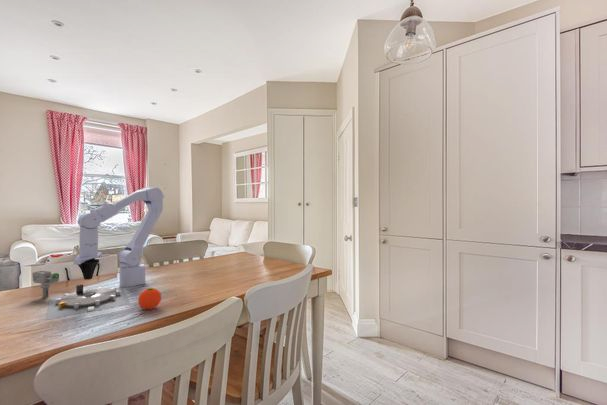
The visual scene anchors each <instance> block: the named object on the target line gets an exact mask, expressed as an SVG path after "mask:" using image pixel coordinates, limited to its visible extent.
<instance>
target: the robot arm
mask: <svg viewBox="0 0 607 405" xmlns="http://www.w3.org/2000/svg"><path fill="white" fill-rule="evenodd" d="M164 198H165V195H164V193H163V191H162V190H161V189H160V188H159V187H157V186H153V187H142V188H140V189H138V190H136V191H133V192H132V193H130V194H128V195H126V196H124V197H123V198H121V199H119V200H117V201H116V202H103V203H102V204H101V205H100V206H99V207H97V208H95V209H92V208H91V209H89V212H86V213H83V214H81V215H80V216H79V217H78V220H77V224H78V226H79V240H78V241H79V249H78V252H79V253H78V254H79V255H76V256H75V258H74V259H73V265H77V266H78V267H79V269H80V271H81V273H82V276H83V279H84V280H92V279H93V277H94V273H95V271H96V268H97V266H98V264H99V262H100V259H99V258H102V255H103V252H101V251H99V250H98V249H99V226H100V225H101V223H104V222H106V221H107V220H109V219H112V218H113V217H115V216H116V215H118V214H119V211H120V210H122V209H123V208H126V207H128V206H129V205H131V204H135V203H136V202H138V201H140V202H141V201H142V202H144V204H145V205H146V208H147V211H146V214H145V215H144V217H143V219H142V221H141V223H140V224H139V226H138V228H137V230H136V231H135V233H134V235H133V237H132V238H131V239H130V240H131V241H130V242H128V243H127V244H125V247H124V248H123V249H121V250H119V252H118V254H117V260H118V261H119V262H120V264H119V287H122V288H124V287H125V288H126V287H128V288H129V287H133V286H134V287H135V286H139V285H144V284H146V265H145V264H144V263H143V264H140V263H141V262H142V259H143V253H144V252H145V251H144V246H145V244H146V242H147V240H148V238H149V236H150V234H151V232H152V231H153V229H154V227H155V225H156V224H157V221H158V219H159V217H160V216H161V215H162V212H163V208H164V206H163V205H164V204H163V203H164V202H163V201H164Z"/></svg>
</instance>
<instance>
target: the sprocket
mask: <svg viewBox="0 0 607 405" xmlns="http://www.w3.org/2000/svg"><path fill="white" fill-rule="evenodd" d="M75 287H76V291H74V292H70V293H64V294H63V295H62V296H63V297H62V298H59V299H56V300H55V304H58V308H63V307H74V309H78V308H80V307H84V306H91V305H95V306H97V305H100V303H103V302H106V301H109V300H115V299H116V296H117V295H120V290H118V291H116V288H117V287H103V286H99V287H97V288H95V287H94V288H88V289H85V288H84V284H82V283H81V284H77V285H76V286H75Z"/></svg>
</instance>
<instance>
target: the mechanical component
mask: <svg viewBox="0 0 607 405" xmlns="http://www.w3.org/2000/svg"><path fill="white" fill-rule="evenodd" d="M31 275H32V282H33V283H34V284H41V286H40V289H42V298H48V297H49V289H50V287H51V285H52V284H55V283H58V282H59V280H60V274H59V273H57V272H52V271H47V270H37V271H34V272H32V274H31Z"/></svg>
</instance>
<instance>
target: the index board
mask: <svg viewBox="0 0 607 405" xmlns="http://www.w3.org/2000/svg"><path fill="white" fill-rule="evenodd" d="M115 288H116V291H118V290H120V295H117V296H116V299H115V300H109V301H106V302H103V303H100V305H97V306H95V305H91V306H84V307H80V308H78V309H74V307H63V308H58V304H55V300H56V299H59V298H62V297H63V296H64V295H59V296H53V297H50V298H49V303H48V307H47V311H46V315H45V318H44V321H48V320H53V319H60V318H63V317H64V318H65V317H69V316H74V315H80V314H85V313H90V312H94V311H95V312H96V311H100V310H101V311H102V310H106V309H112V308H116V307H117V308H118V307H123V306H127V305H131V302H130V300H129V297H128V296H127V295H128V294H126V292H125V290H124V287H122V286H118V287H117V286H116V287H115Z"/></svg>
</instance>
